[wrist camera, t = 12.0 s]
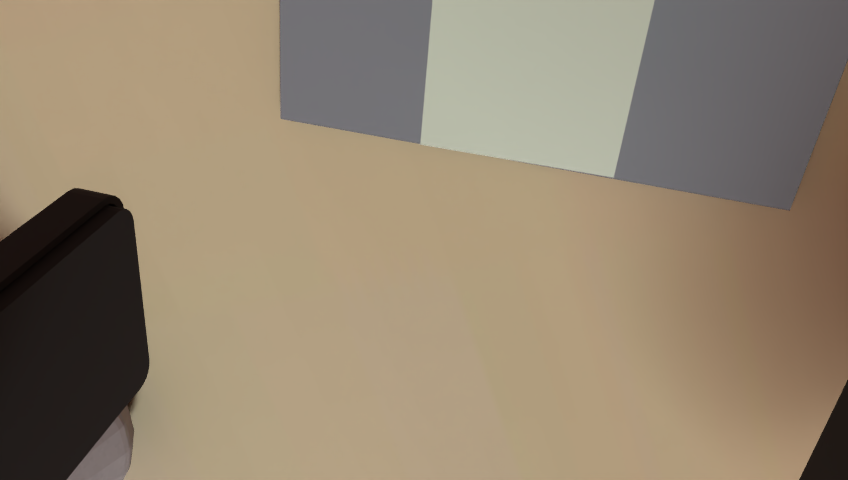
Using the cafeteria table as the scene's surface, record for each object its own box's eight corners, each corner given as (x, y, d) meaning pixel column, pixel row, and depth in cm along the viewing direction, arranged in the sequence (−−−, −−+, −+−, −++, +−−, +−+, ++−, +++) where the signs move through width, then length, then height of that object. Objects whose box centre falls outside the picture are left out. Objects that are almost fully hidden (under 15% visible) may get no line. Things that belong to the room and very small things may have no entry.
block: (654, -83, 24) (660, -25, 18) (618, 80, 26) (613, 177, 20) (485, -104, 24) (437, -54, 18) (467, 57, 27) (420, 144, 21)
